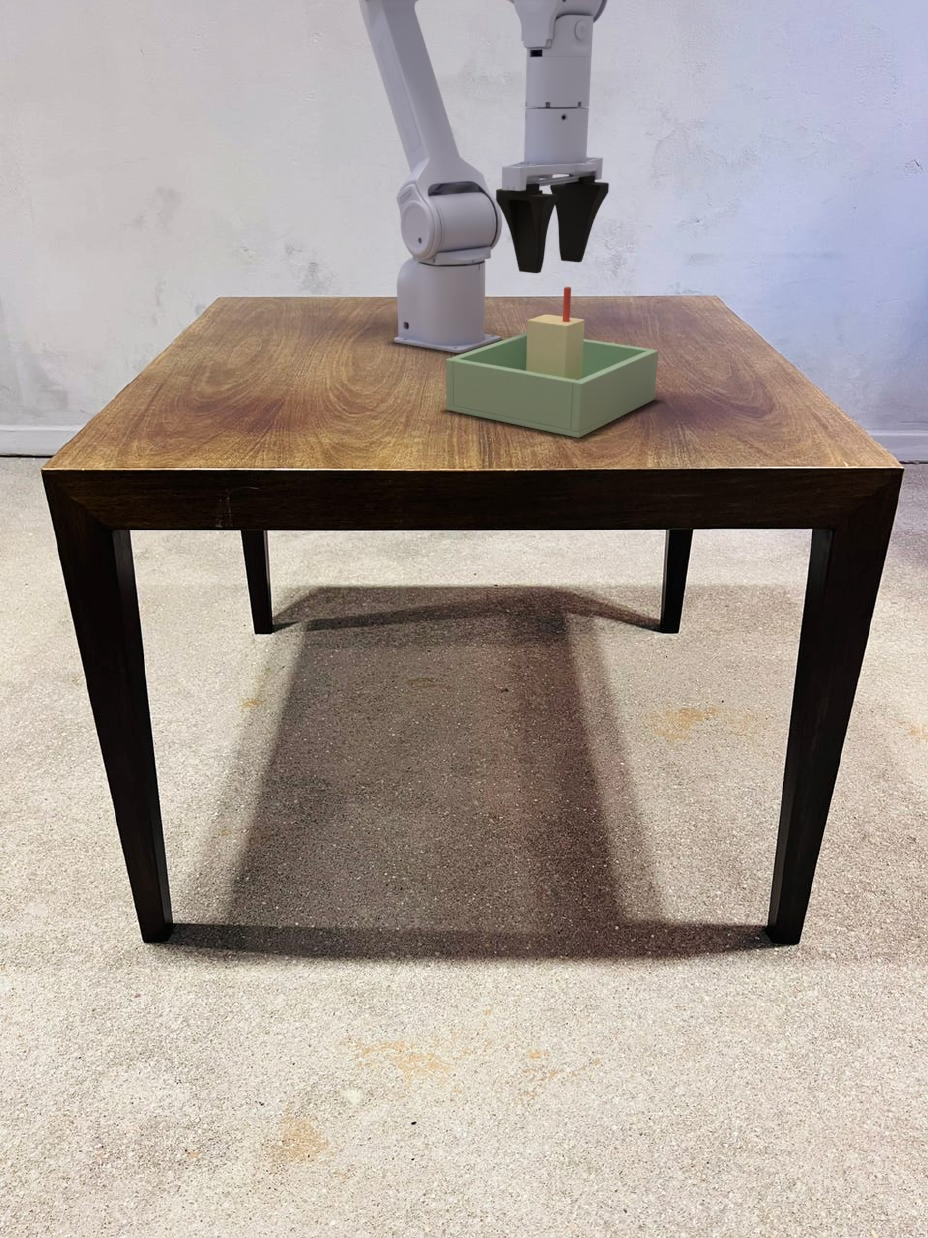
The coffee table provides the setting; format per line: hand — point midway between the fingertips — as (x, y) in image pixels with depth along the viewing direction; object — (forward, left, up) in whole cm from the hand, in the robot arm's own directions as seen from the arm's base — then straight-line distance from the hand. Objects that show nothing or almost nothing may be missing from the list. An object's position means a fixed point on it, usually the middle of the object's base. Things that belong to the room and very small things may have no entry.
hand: (551, 266), depth 95 cm
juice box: (+7, -11, -9) cm, 16 cm away
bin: (+7, -11, -10) cm, 16 cm away
